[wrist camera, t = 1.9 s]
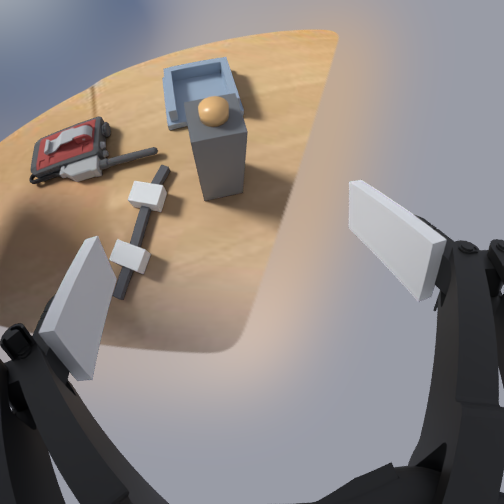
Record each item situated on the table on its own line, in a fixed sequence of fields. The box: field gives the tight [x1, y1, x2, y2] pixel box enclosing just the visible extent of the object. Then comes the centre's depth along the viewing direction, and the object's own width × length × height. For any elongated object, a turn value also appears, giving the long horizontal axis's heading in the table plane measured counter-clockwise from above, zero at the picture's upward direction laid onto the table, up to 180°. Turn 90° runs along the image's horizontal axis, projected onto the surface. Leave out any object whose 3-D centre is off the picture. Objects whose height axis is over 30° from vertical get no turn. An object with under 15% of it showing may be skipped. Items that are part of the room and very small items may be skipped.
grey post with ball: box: [184, 93, 247, 201], centre depth 27 cm, size 4×4×13 cm
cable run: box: [109, 165, 170, 300], centre depth 31 cm, size 4×16×2 cm, turn 168°
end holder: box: [163, 57, 244, 130], centre depth 35 cm, size 10×10×3 cm
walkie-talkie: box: [29, 117, 158, 184], centre depth 32 cm, size 9×4×20 cm
